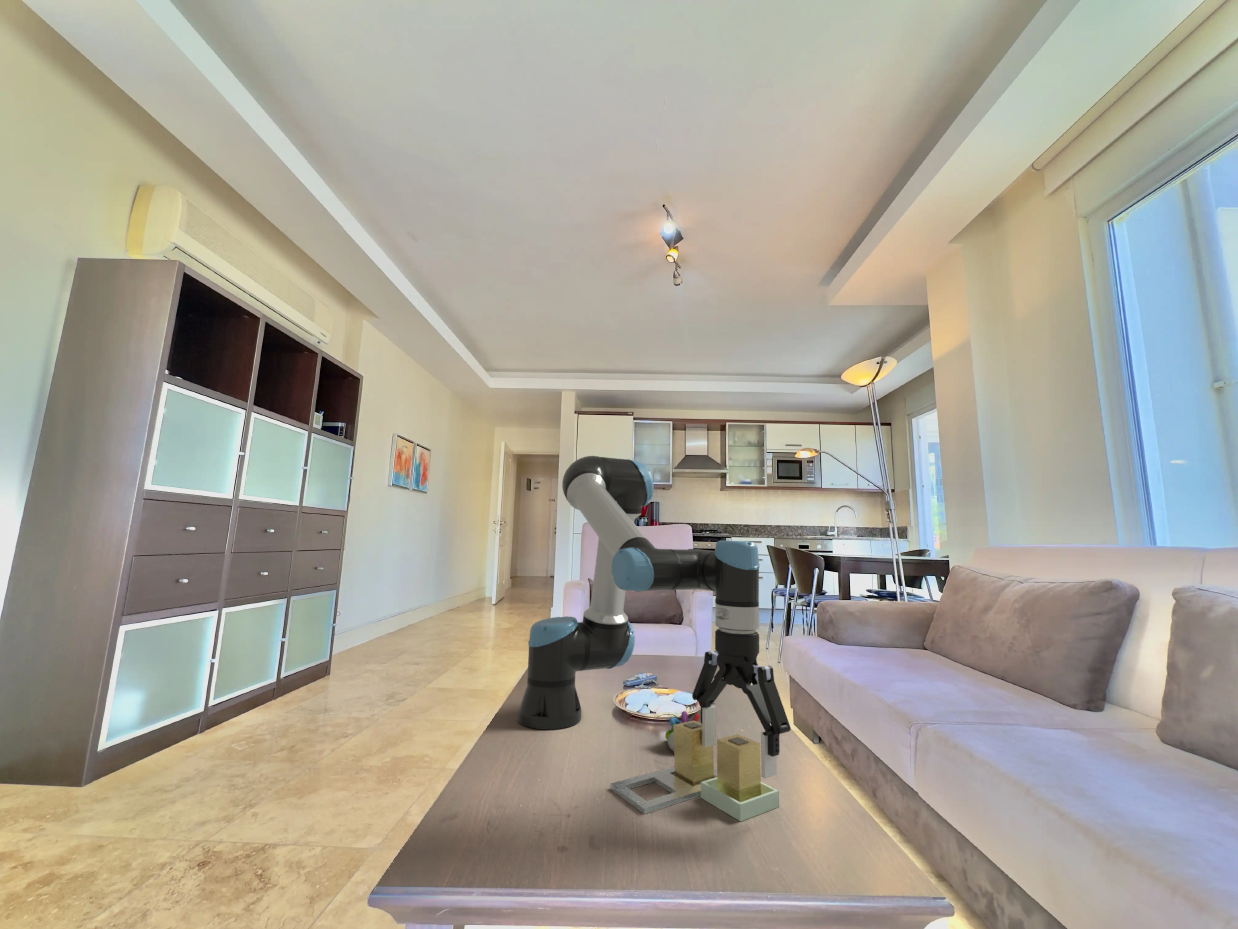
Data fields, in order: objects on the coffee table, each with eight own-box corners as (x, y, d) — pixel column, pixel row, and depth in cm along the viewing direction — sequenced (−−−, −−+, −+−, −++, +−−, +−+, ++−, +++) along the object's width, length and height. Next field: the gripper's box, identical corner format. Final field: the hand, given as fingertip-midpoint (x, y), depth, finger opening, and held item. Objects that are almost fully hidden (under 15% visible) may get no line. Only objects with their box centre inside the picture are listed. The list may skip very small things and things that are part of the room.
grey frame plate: (610, 788, 90) (610, 783, 90) (696, 764, 100) (696, 760, 101) (644, 814, 81) (644, 808, 81) (734, 784, 92) (734, 779, 92)
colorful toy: (710, 759, 103) (710, 720, 105) (662, 753, 106) (662, 716, 107) (712, 743, 112) (712, 708, 113) (668, 739, 114) (668, 704, 115)
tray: (700, 797, 87) (700, 782, 87) (738, 785, 92) (738, 770, 92) (740, 821, 80) (740, 804, 80) (779, 806, 85) (779, 790, 85)
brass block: (717, 797, 87) (717, 738, 88) (738, 789, 89) (737, 733, 91) (739, 809, 82) (738, 748, 84) (761, 802, 85) (759, 742, 87)
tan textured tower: (675, 778, 94) (673, 724, 96) (695, 772, 97) (693, 719, 99) (693, 787, 90) (691, 730, 92) (714, 780, 93) (711, 725, 95)
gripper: (674, 620, 99) (672, 738, 96) (780, 645, 78) (782, 797, 75) (703, 618, 103) (703, 731, 100) (811, 641, 82) (814, 785, 79)
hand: (737, 760), depth 87 cm, fingers open, 13 cm apart
